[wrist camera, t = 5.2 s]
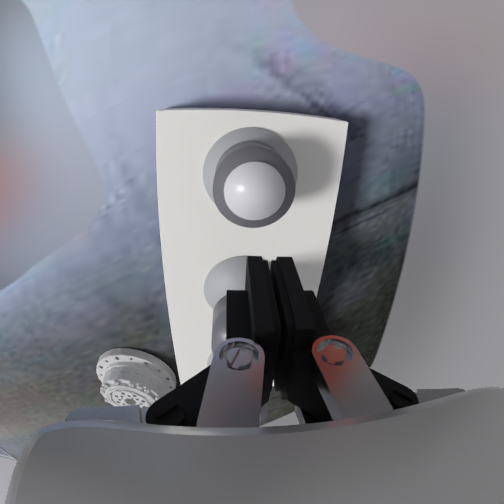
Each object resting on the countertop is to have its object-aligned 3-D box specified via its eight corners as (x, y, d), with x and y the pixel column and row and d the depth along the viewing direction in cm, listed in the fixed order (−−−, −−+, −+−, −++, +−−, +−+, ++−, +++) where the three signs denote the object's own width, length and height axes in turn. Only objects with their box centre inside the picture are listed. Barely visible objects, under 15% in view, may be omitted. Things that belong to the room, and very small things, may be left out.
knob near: (216, 139, 17) (213, 148, 14) (289, 143, 17) (301, 154, 15) (214, 207, 19) (211, 229, 16) (282, 209, 20) (291, 231, 17)
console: (166, 108, 19) (155, 110, 16) (333, 117, 20) (349, 122, 17) (183, 363, 32) (180, 386, 29) (289, 364, 33) (293, 386, 30)
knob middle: (212, 289, 19) (210, 324, 16) (280, 290, 20) (288, 324, 17) (213, 337, 21) (212, 372, 19) (272, 337, 22) (278, 371, 19)
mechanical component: (109, 333, 29) (92, 375, 33) (98, 363, 25) (84, 401, 29) (189, 367, 32) (160, 402, 36) (187, 398, 29) (156, 429, 32)
